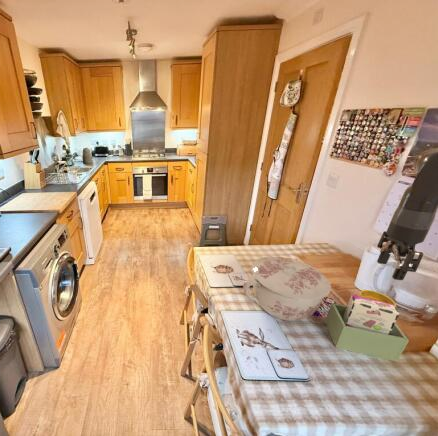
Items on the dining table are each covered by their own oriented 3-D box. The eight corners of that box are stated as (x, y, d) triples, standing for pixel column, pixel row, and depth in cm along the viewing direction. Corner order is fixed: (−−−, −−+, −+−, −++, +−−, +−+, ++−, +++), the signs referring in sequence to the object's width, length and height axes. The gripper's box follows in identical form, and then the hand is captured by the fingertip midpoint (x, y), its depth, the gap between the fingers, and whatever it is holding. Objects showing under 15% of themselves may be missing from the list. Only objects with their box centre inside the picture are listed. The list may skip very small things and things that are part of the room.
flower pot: (391, 321, 89) (401, 301, 86) (380, 333, 85) (390, 313, 81) (358, 304, 98) (366, 286, 94) (347, 314, 93) (354, 295, 89)
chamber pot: (319, 299, 101) (332, 259, 93) (319, 347, 81) (336, 301, 72) (251, 278, 116) (258, 242, 108) (237, 314, 95) (243, 273, 87)
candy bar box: (377, 340, 81) (395, 304, 75) (381, 351, 77) (401, 314, 71) (338, 327, 87) (351, 293, 80) (340, 337, 83) (354, 302, 76)
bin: (378, 333, 85) (388, 313, 81) (396, 362, 75) (409, 340, 71) (324, 322, 90) (331, 302, 86) (335, 347, 80) (343, 326, 76)
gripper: (448, 235, 57) (420, 288, 63) (411, 214, 69) (391, 260, 76) (408, 232, 60) (385, 282, 66) (379, 212, 72) (362, 256, 78)
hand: (388, 270), depth 71 cm, fingers open, 8 cm apart
